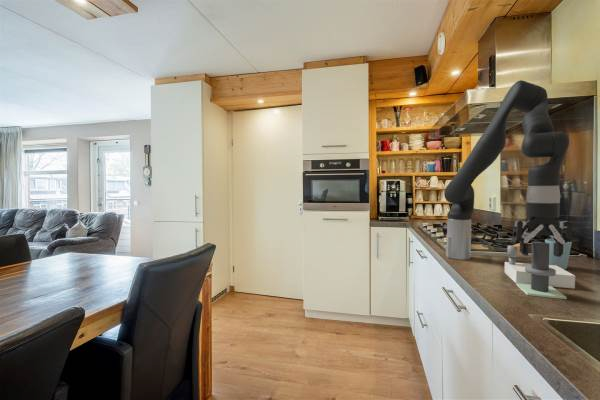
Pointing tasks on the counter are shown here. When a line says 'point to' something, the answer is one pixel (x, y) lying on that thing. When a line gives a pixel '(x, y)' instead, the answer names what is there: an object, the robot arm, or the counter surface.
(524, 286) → the pad
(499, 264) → the counter surface
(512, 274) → the socket block
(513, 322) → the counter surface
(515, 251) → the tan piece
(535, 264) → the plug
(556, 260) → the cup
